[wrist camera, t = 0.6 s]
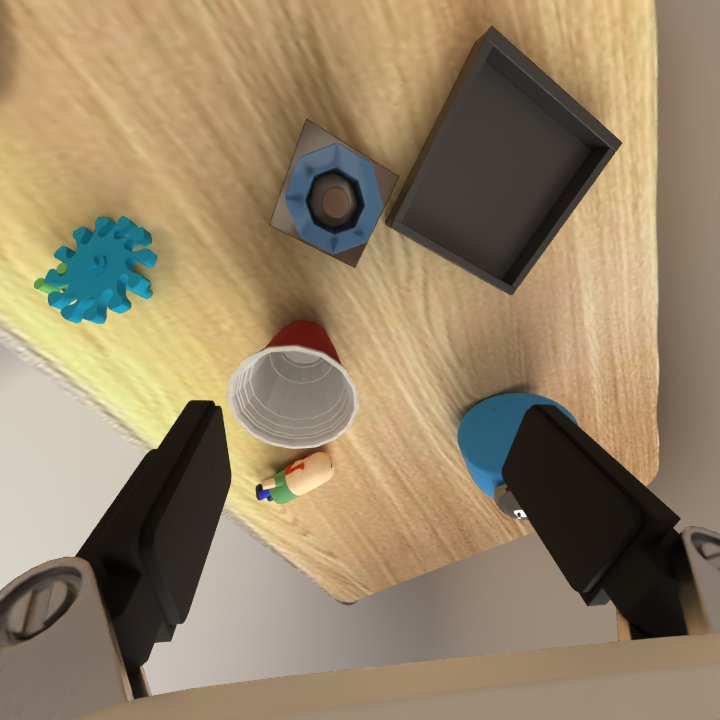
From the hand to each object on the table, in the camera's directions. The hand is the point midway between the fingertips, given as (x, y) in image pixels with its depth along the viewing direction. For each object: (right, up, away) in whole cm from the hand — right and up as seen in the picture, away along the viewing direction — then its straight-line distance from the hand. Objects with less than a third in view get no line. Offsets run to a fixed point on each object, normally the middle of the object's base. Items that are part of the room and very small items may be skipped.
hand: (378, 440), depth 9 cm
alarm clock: (+18, -5, +34) cm, 39 cm away
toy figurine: (-10, -13, +36) cm, 39 cm away
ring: (-3, +17, +19) cm, 25 cm away
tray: (+12, +19, +20) cm, 31 cm away
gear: (-24, +12, +20) cm, 33 cm away
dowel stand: (-3, +18, +20) cm, 26 cm away
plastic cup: (-7, +4, +26) cm, 28 cm away
